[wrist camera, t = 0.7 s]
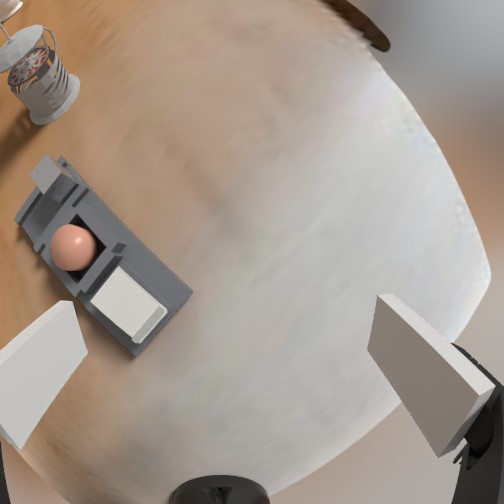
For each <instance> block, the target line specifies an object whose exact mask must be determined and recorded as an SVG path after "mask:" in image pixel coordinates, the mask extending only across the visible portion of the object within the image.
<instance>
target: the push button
mask: <svg viewBox="0 0 504 504" xmlns="http://www.w3.org/2000/svg"><path fill="white" fill-rule="evenodd" d="M97 251H98V247H97V241H96V239H95V237H94V235H93V234H92V233H91V232H90V231H88V230H86V229H83V228H80V227H78V226H75V225H71V224H68V225H64V226H62V227H60V228H59V229H58V230H57V231H56V232H55V233H54V235H53V237H52V240H51V244H50V252H51V257H52V260H53V262H54V263H55V265H56V266H57V267H59V268H60V269H62V270H65V271H75V270H85V269H87V268H89V267H90V266H91V265H92V264H93V263H94V261H95V259H96V256H97Z"/></svg>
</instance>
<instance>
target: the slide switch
mask: <svg viewBox="0 0 504 504" xmlns="http://www.w3.org/2000/svg"><path fill="white" fill-rule="evenodd" d="M30 176H31V178H32V179H33V180H34V182H35V183H36V185H37V186H38V188H39V189H40V191H41V192H42V193H43V195H45V196H47V197H49V198H51V199H53V200H55V201H58V202H60V203H62V204H64V203H65V202H66V201H67V199H68V198H69V197H70V196H71V195H72V193H73V192H74V191H75V190H76V189H77V187H78V186H79V185H80V184H79V183H78V182H77V181H76V180H75V179H74V177H73V176H72V175H71V174H70V173H69V171H68V170H67V169H66V168H65V167H64V166H63V165H61V164H60V163H59V162H57V161H56V160H55V159H54V158H52V157H51V156H50V155H48V154H46V155H45V156H44V157H43V158H42V160H41V161H40V162H39V163H38V165H37V166H36V167H35V168H34V170H33V171H32V172H31V174H30Z"/></svg>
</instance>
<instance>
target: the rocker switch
mask: <svg viewBox="0 0 504 504" xmlns="http://www.w3.org/2000/svg"><path fill="white" fill-rule="evenodd" d="M90 302H91V303H92V304H94V305H95V306H96V307H97V308H98V309H99V310H100V311H101V312H102V313H103V314H105V315H106V316H107V317H108V318H109V319H110V320H112V321H113V322H114V323H115V324H116V325H117V326H119V327H120V328H121V329H122V330H123V331H125V332H126V333H127V334H128V335H130V336H131V337H132V341H134V342H135V343H136V344H137V343H141V342H142V341H143V340H144V339H145V337H146V336H147V335H148V334H149V333H150V332H151V331H152V329H153V328H154V327H155V326H156V325H157V324H158V323H159V321H160V320H161V319H162V318H163V317H164V316H165V315H166V314H167V309H166V308H165V307H164V306H163V305H162V304H160V303H159V302H158V301H157V300H156V299H155V298H153V297H152V296H151V295H150V294H149V293H148V292H147V291H145V290H144V289H143V288H142V287H141V286H140V285H139V284H138V283H137V282H135V281H134V280H133V279H132V278H131V277H130V276H129V275H128V274H127V273H126V272H125V271H124V270H123V269H121V268H120V267H119V266H118V267H117V268H116V270H115V271H114V272H113V273H112V274H111V276H110V277H109V278H108V279H107V281H106V282H105V283H104V284H103V286H102V287H101V288H100V289H99V291H98V292H97V293H96V295H95V296H94V297H93V299H92V300H91V301H90Z"/></svg>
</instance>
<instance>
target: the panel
mask: <svg viewBox="0 0 504 504" xmlns="http://www.w3.org/2000/svg"><path fill="white" fill-rule="evenodd" d="M57 162H59V163H60V164H61V165H63V166H64V167H65V168H66V169H67V170H68V171H69V173H70V174H71V175H72V176H73V177H74V179H75V180H76V181H77V182H78V183H79V184H80V185H79V186H78V187H77V189H76V190H75V191H74V192H73V193H72V195H71V196H70V197H69V198H68V199H67V201H66V202H65V203H64V204H62V203H60V202H58V201H55V200H53V199H51V198H49V197H47V196H45V195H43V193H42V192H41V191H40V189H39V188H38V186H36V188H35V189H34V190H33V192H32V193H31V194H30V196H29V197H28V199H27V200H26V201H25V203H24V204H23V206H22V207H21V209H20V210H19V212H18V213H17V215H16V217H15V221H16V223H17V224H18V225H22V227H23V228H24V230H25V231H26V233H27V234H28V236H29V237H30V239H31V240H32V242H33V243H34V246H33V248H34V250H35V251H36V253H41V256H42V257H43V259H44V260H45V261H46V263H47V264H48V265H49V267H50V268H51V269H52V271H53V272H54V273H55V274H56V276H57V277H58V278H59V279H60V281H61V282H62V283H63V284H64V285H65V287H66V288H67V289H68V290H69V291H70V292H71V294H72V295H73V296H74V297H76V298H77V299H78V300H79V301H80V302H81V303H82V304H83V306H84V307H85V308H86V309H87V310H88V311H89V312H90V313H91V314H92V315H93V316H94V317H95V318H96V319H97V320H98V321H99V322H100V323H101V325H102V326H103V327H104V328H105V329H106V330H107V331H108V332H109V333H111V334H112V335H113V336H114V337H115V338H116V339H117V340H118V341H119V342H120V343H121V344H122V345H123V346H124V347H125V348H126V349H127V350H129V351H130V352H131V353H132V354H133V355H134V356H135V357H136V356H137V355H138V354H139V353H140V351H141V350H142V349H143V348H144V347H145V346H146V345H147V343H148V342H149V341H150V340H151V339H152V338H153V337H154V335H155V334H156V333H157V332H158V331H159V330H160V329H161V327H162V326H163V325H164V324H165V323H166V322H167V321H168V320H169V318H170V317H171V316H172V315H173V314H174V313H175V312H176V311H177V309H178V308H179V307H180V306H181V305H182V304H183V303H184V302H185V301H186V299H187V298H188V297H189V296H190V295H191V294H192V293H193V290H191V289H190V288H189V287H188V286H187V285H186V284H185V283H184V282H183V281H182V280H181V279H179V278H178V277H177V276H176V275H175V274H174V273H173V272H172V271H171V270H170V269H169V268H168V267H167V266H166V265H165V264H164V263H163V262H162V261H161V260H159V259H158V258H157V257H156V256H155V255H154V254H153V253H152V252H151V251H150V250H149V249H148V248H147V247H146V246H145V245H144V244H143V243H142V242H141V241H140V240H139V239H138V238H137V237H136V236H135V235H134V234H133V233H132V232H131V231H130V230H129V229H128V228H127V226H126V225H125V224H124V223H123V222H122V221H121V220H120V219H119V218H118V217H117V216H116V215H115V214H114V213H113V212H112V211H111V210H110V209H109V208H108V206H107V205H106V204H105V203H104V202H103V201H102V200H101V199H100V198H99V197H98V196H97V194H96V193H95V192H94V191H93V190H92V189H91V188H90V187H89V185H88V184H87V183H86V182H85V181H84V180H83V179H82V177H81V176H80V175H79V174H78V173H77V172H76V171H75V169H74V168H73V167H72V166H71V165H70V163H69V162H68V161H67V160H66V159H64V158H63V157H62V156H61V157H60V158H59V159H58V160H57ZM68 224H71V225H75V226H78V227H80V228H83V229H86V230H88V231H90V232H91V233H92V234H93V235H94V237H95V239H96V241H97V247H98V251H97V256H96V259H95V261H94V263H93V264H92V265H91V266H90V267H89V268H87V269H85V270H75V271H65V270H62V269H60V268H59V267H57V266H56V265H55V263H54V262H53V260H52V257H51V252H50V244H51V240H52V237H53V235H54V233H55V232H56V231H57V230H58V229H59V228H60V227H62V226H64V225H68ZM118 266H119V267H120V268H121V269H123V270H124V271H125V272H126V273H127V274H128V275H129V276H130V277H131V278H132V279H133V280H134V281H135V282H137V283H138V284H139V285H140V286H141V287H142V288H143V289H144V290H145V291H147V292H148V293H149V294H150V295H151V296H152V297H153V298H155V299H156V300H157V301H158V302H159V303H160V304H162V305H163V306H164V307H165V308H166V309H167V314H166V315H165V316H164V317H163V318H162V319H161V320H160V321H159V323H158V324H157V325H156V326H155V327H154V328H153V329H152V331H151V332H150V333H149V334H148V335H147V336H146V337H145V339H144V340H143V341H142V342H141V343H137V344H136V343H135V342H134V341H132V337H131V336H130V335H128V334H127V333H126V332H125V331H123V330H122V329H121V328H120V327H119V326H117V325H116V324H115V323H114V322H113V321H112V320H110V319H109V318H108V317H107V316H106V315H105V314H103V313H102V312H101V311H100V310H99V309H98V308H97V307H96V306H95V305H94V304H92V303H91V302H90V301H91V300H92V299H93V297H94V296H95V295H96V293H97V292H98V291H99V289H100V288H101V287H102V286H103V284H104V283H105V282H106V281H107V279H108V278H109V277H110V276H111V274H112V273H113V272H114V271H115V270H116V268H117V267H118Z"/></svg>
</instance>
